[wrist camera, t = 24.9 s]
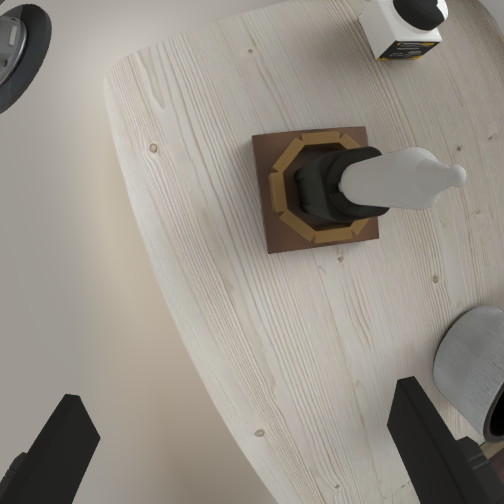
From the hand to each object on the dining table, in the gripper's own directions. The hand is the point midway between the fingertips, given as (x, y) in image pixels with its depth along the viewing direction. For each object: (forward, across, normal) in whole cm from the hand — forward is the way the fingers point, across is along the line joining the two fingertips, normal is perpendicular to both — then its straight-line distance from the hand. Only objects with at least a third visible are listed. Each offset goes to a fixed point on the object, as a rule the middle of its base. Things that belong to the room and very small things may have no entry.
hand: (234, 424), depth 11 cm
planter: (+26, +34, -20) cm, 47 cm away
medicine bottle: (+31, +22, +26) cm, 46 cm away
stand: (+28, +9, +6) cm, 30 cm away
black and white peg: (+26, +9, +6) cm, 28 cm away
